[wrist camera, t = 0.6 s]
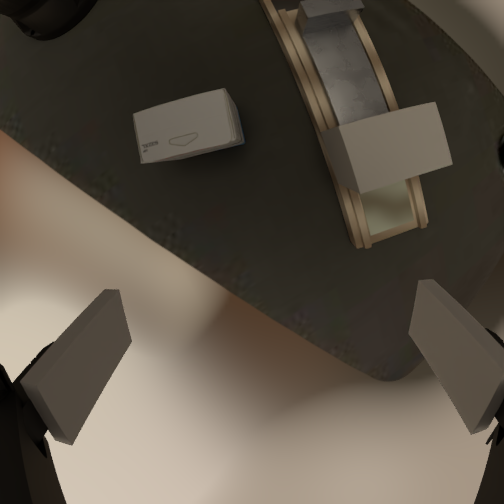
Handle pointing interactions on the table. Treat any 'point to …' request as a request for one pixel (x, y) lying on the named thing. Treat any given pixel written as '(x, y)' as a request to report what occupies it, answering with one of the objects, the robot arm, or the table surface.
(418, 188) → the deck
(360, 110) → the sled
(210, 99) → the ink box
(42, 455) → the robot arm
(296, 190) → the table surface
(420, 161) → the tunnel
